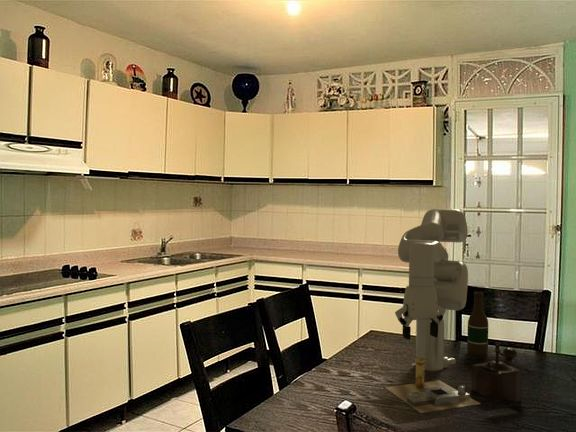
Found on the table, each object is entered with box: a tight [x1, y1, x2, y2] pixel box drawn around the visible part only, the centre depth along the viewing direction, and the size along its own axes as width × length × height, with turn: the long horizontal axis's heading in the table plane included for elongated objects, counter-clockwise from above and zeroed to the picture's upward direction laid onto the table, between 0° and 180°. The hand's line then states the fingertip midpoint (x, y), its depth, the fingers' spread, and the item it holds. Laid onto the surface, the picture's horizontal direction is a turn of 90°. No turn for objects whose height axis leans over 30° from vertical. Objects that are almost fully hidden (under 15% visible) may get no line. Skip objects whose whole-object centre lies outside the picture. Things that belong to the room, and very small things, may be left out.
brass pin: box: [414, 357, 426, 390], centre depth 161 cm, size 3×3×9 cm
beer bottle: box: [466, 291, 489, 357], centre depth 203 cm, size 8×8×24 cm
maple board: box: [385, 379, 482, 414], centre depth 156 cm, size 20×20×2 cm
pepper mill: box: [471, 343, 523, 404], centre depth 155 cm, size 16×11×18 cm
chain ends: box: [407, 385, 471, 407], centre depth 152 cm, size 19×8×3 cm, turn 109°
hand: (420, 337), depth 160 cm, fingers open, 9 cm apart
